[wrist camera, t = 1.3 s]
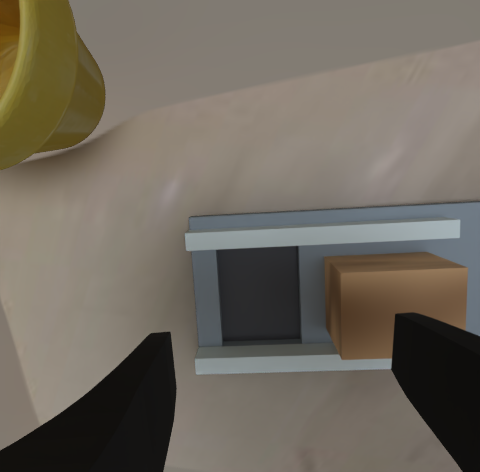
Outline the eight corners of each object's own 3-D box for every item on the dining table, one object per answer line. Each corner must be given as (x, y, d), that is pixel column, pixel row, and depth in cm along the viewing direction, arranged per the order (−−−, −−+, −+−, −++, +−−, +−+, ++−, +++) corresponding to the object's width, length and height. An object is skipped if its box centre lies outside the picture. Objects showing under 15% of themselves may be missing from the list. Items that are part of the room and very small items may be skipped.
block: (425, 324, 21) (464, 356, 17) (325, 327, 21) (341, 359, 17) (427, 251, 20) (468, 267, 16) (324, 256, 21) (340, 273, 17)
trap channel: (595, 352, 22) (638, 374, 19) (203, 364, 23) (196, 386, 21) (610, 194, 20) (658, 195, 18) (191, 216, 22) (183, 220, 19)
